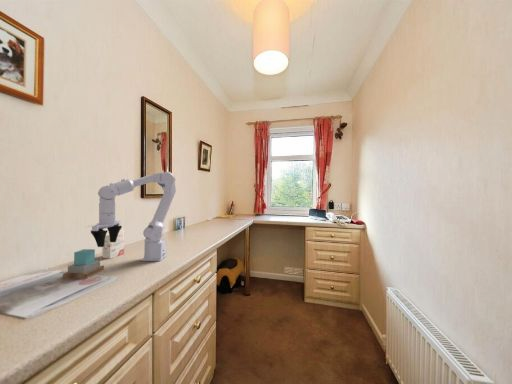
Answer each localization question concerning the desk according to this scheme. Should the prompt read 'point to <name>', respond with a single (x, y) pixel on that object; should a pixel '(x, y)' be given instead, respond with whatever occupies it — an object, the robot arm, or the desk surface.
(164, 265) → the desk surface
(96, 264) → the gray slab
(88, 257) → the teal block
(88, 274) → the walnut slab
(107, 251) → the ink cartridge box
